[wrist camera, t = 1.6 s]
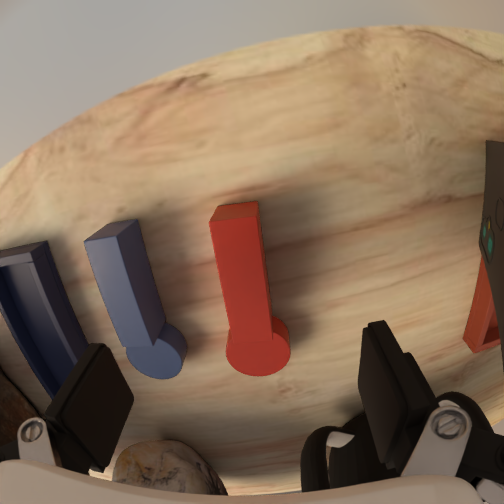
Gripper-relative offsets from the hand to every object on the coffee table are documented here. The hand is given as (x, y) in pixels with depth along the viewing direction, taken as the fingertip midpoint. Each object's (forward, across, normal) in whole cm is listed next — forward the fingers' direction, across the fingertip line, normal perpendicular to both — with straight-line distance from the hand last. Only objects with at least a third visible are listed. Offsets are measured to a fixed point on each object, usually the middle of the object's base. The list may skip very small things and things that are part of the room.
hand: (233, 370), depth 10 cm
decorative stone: (+9, +9, +22) cm, 25 cm away
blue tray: (+8, +17, +4) cm, 19 cm away
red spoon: (+8, 0, +2) cm, 9 cm away
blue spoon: (+8, +7, +2) cm, 11 cm away
